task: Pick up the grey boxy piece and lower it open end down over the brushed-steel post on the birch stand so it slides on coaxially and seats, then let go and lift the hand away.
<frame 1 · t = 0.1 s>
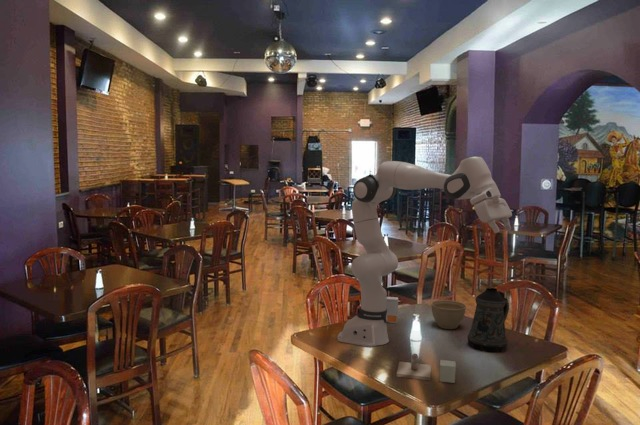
hand: (503, 231, 189), 54 cm above the table, tool tilted 30°, fingers open, 8 cm apart
post stand: (414, 372, 197), on the table
planter bowl: (447, 326, 254), on the table
grey boxy piece: (447, 379, 191), on the table
beer stein: (487, 345, 229), on the table
skincare box: (391, 322, 260), on the table
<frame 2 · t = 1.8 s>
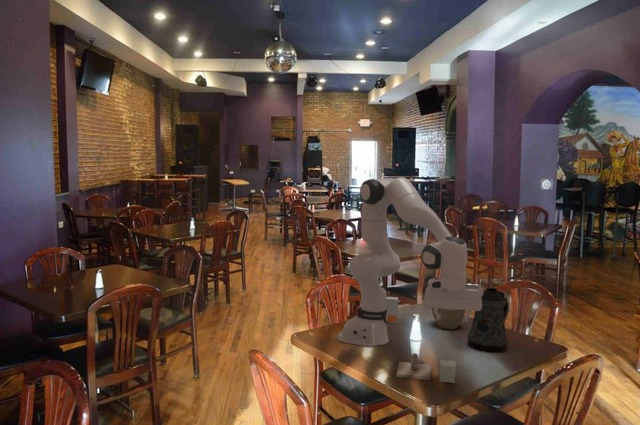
hand: (451, 320, 189), 22 cm above the table, tool pointing down, fingers open, 8 cm apart
nothing on the table moved.
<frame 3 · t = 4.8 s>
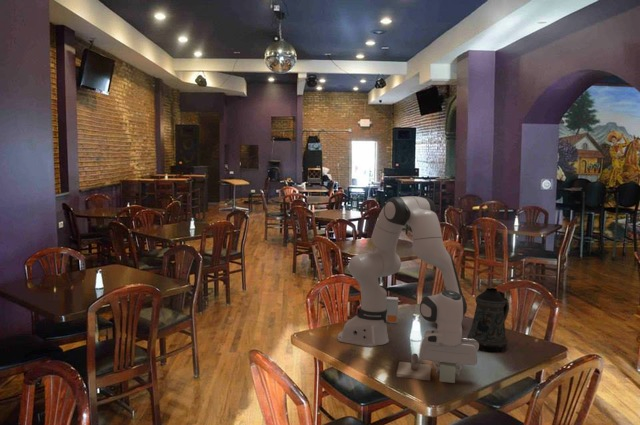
hand: (447, 373, 191), 2 cm above the table, tool pointing down, fingers closed on grey boxy piece, 5 cm apart
grey boxy piece: (447, 379, 191), on the table, touching gripper
everything else where it was.
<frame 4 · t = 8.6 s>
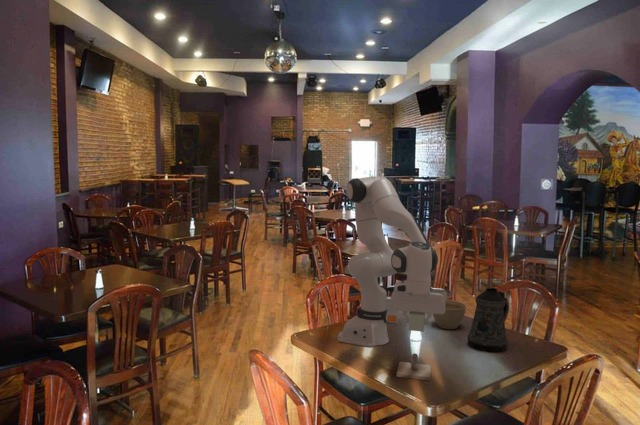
hand: (416, 323, 195), 19 cm above the table, tool pointing down, fingers closed on grey boxy piece, 5 cm apart
grey boxy piece: (416, 328, 195), point 17 cm above the table, touching gripper
everything else where it was.
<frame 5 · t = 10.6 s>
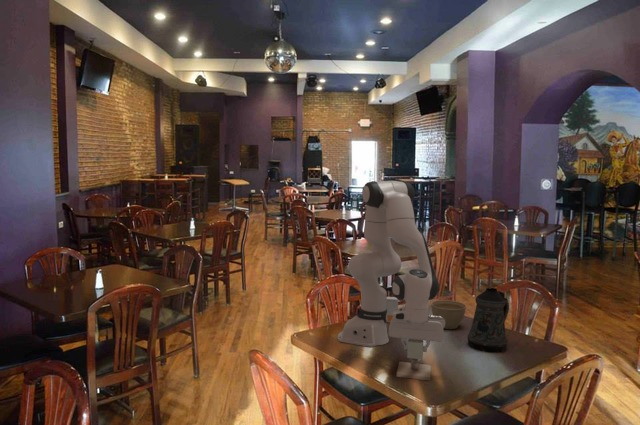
hand: (415, 350, 196), 8 cm above the table, tool pointing down, fingers closed on grey boxy piece, 5 cm apart
grey boxy piece: (415, 356, 196), point 6 cm above the table, touching gripper
everything else where it was.
when the fingers open (5 cm above the table, at t = 12.3 s): grey boxy piece drops 1 cm, resting on post stand.
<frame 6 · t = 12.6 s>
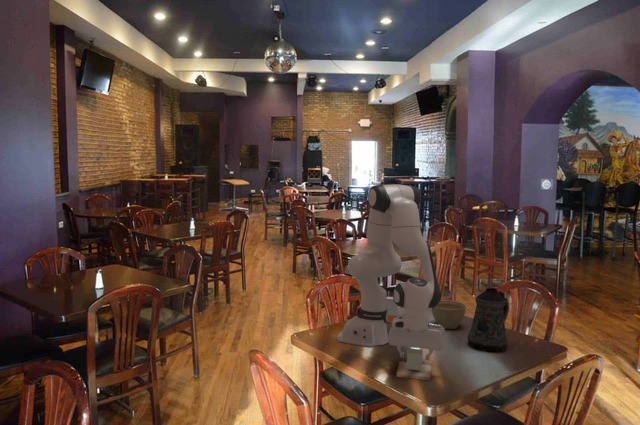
hand: (414, 358, 197), 5 cm above the table, tool pointing down, fingers open, 8 cm apart
grey boxy piece: (414, 367, 197), point 2 cm above the table, touching post stand
everything else where it was.
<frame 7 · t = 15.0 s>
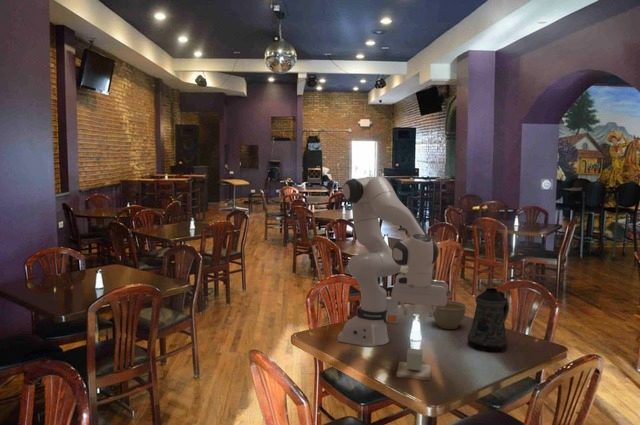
hand: (417, 315, 196), 22 cm above the table, tool pointing down, fingers open, 8 cm apart
nothing on the table moved.
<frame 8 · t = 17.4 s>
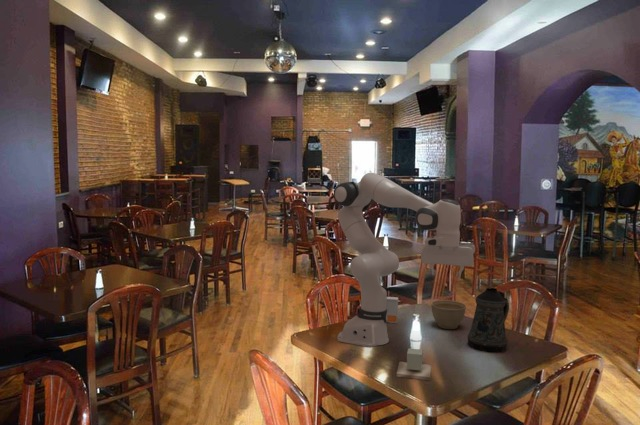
hand: (446, 275, 207), 34 cm above the table, tool pointing down, fingers open, 8 cm apart
nothing on the table moved.
at the end: grey boxy piece 0.0 cm off-centre on the post stand, point 2.0 cm above the post stand's base; grey boxy piece tilted 1°; the gripper is holding nothing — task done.
